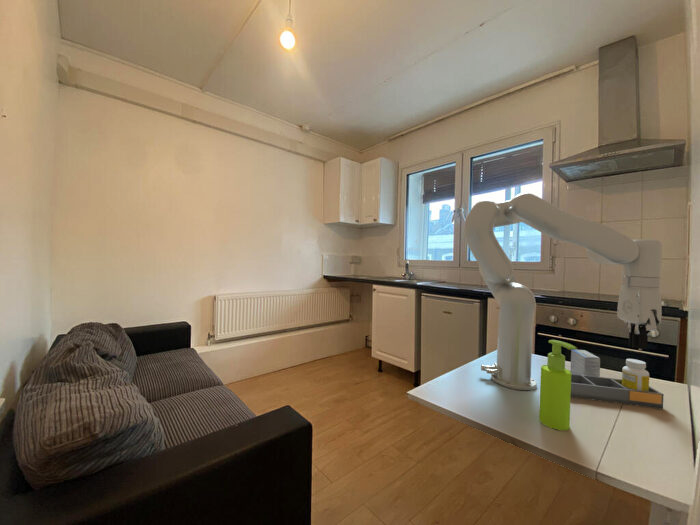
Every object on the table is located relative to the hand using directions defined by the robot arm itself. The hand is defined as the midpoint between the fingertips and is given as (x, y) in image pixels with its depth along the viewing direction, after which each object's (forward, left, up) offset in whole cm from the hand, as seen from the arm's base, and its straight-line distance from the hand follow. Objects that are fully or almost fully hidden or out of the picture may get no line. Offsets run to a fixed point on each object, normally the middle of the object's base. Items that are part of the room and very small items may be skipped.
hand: (637, 347), depth 79 cm
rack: (-8, 0, -15) cm, 17 cm away
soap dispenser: (-28, -21, -15) cm, 38 cm away
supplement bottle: (0, 0, -14) cm, 14 cm away
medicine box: (-7, +12, -15) cm, 21 cm away
